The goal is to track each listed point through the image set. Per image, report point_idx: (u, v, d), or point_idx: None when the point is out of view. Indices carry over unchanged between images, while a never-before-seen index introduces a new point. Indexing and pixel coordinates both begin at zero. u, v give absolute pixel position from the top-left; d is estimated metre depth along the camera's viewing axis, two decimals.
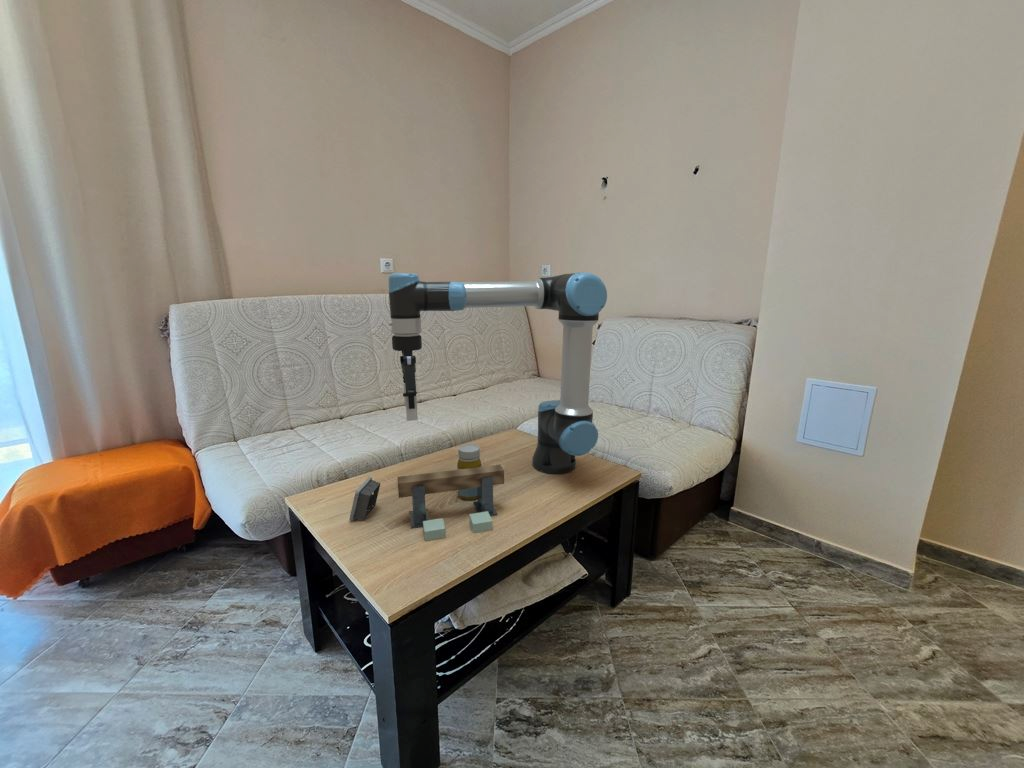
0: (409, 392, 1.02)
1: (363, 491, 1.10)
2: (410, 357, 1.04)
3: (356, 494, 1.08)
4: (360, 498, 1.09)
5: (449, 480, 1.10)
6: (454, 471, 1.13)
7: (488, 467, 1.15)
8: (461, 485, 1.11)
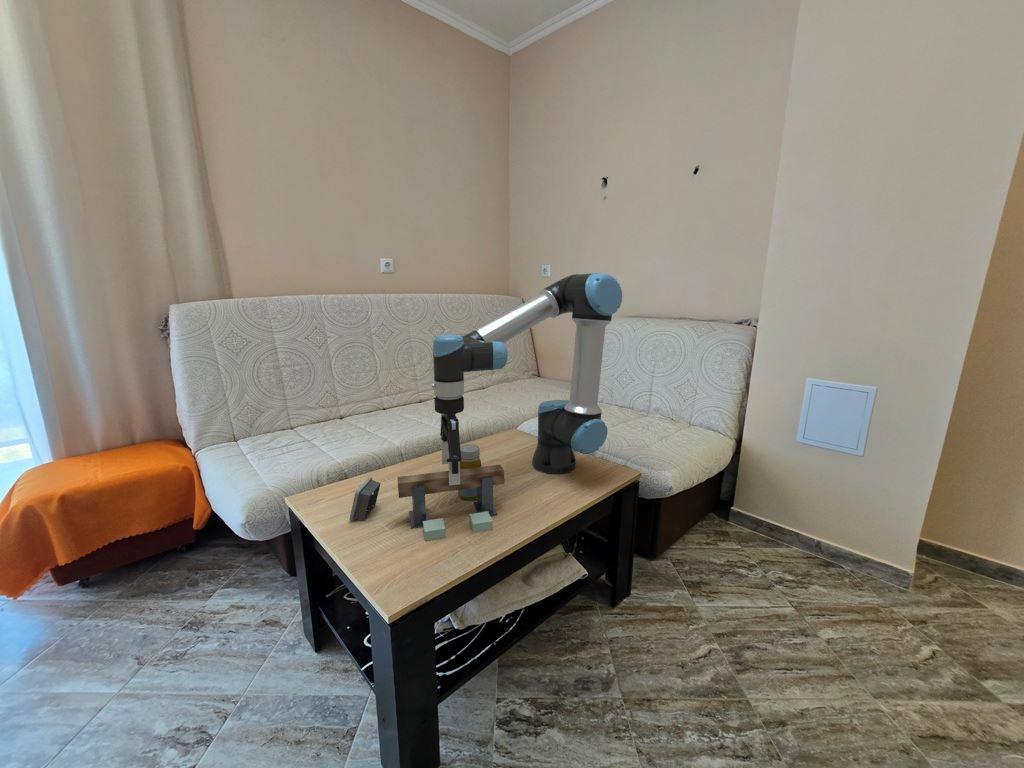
0: (454, 459, 1.00)
1: (363, 491, 1.10)
2: (455, 422, 1.02)
3: (356, 494, 1.08)
4: (360, 498, 1.09)
5: None
6: None
7: (488, 467, 1.15)
8: (461, 485, 1.11)
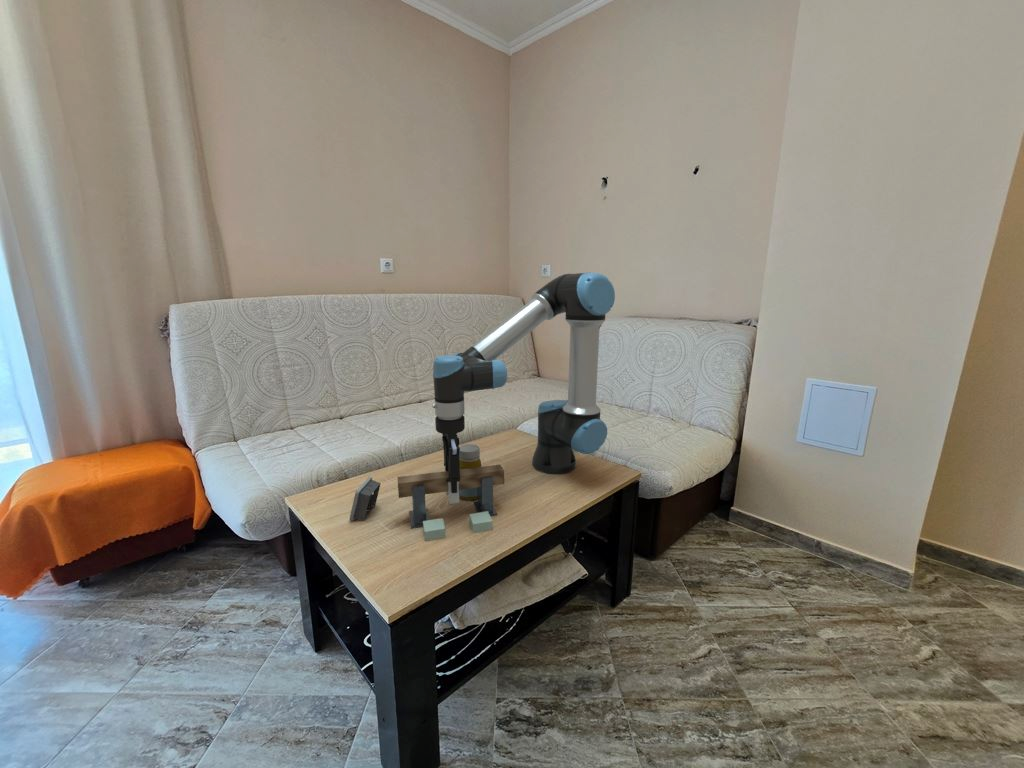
0: (453, 479, 1.06)
1: (363, 491, 1.10)
2: (456, 449, 1.03)
3: (356, 494, 1.08)
4: (360, 498, 1.09)
5: None
6: None
7: (488, 467, 1.15)
8: (461, 485, 1.11)
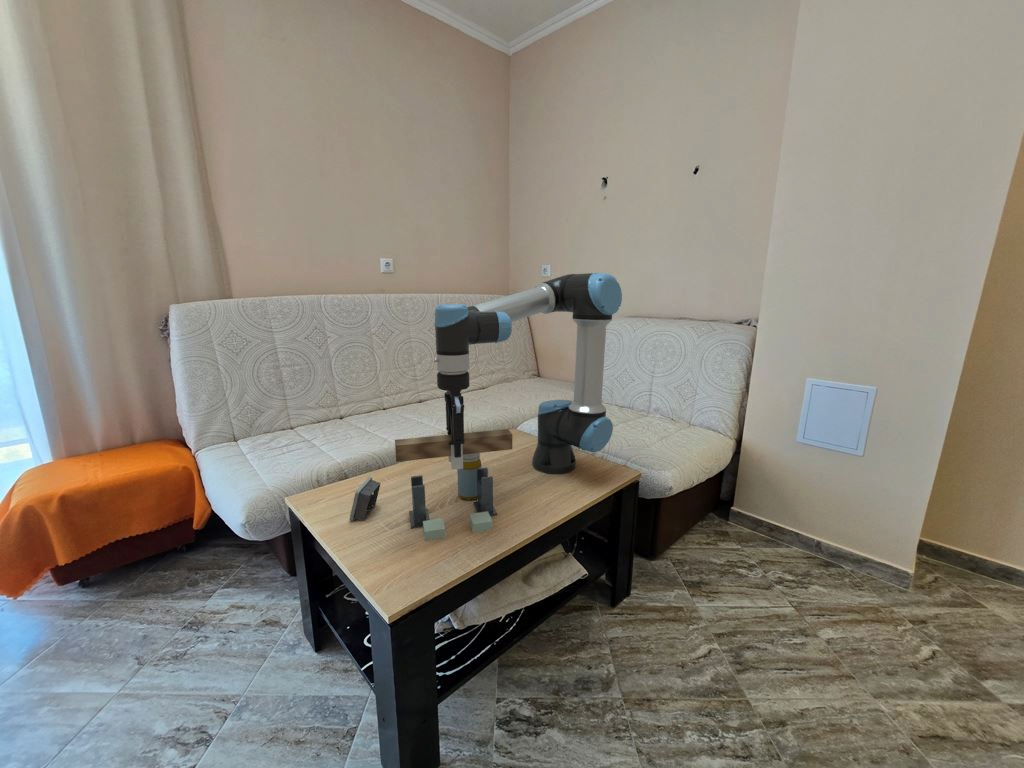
0: (456, 441, 0.96)
1: (363, 491, 1.10)
2: (460, 406, 0.93)
3: (356, 494, 1.08)
4: (360, 498, 1.09)
5: None
6: None
7: (495, 431, 1.05)
8: (465, 450, 1.00)
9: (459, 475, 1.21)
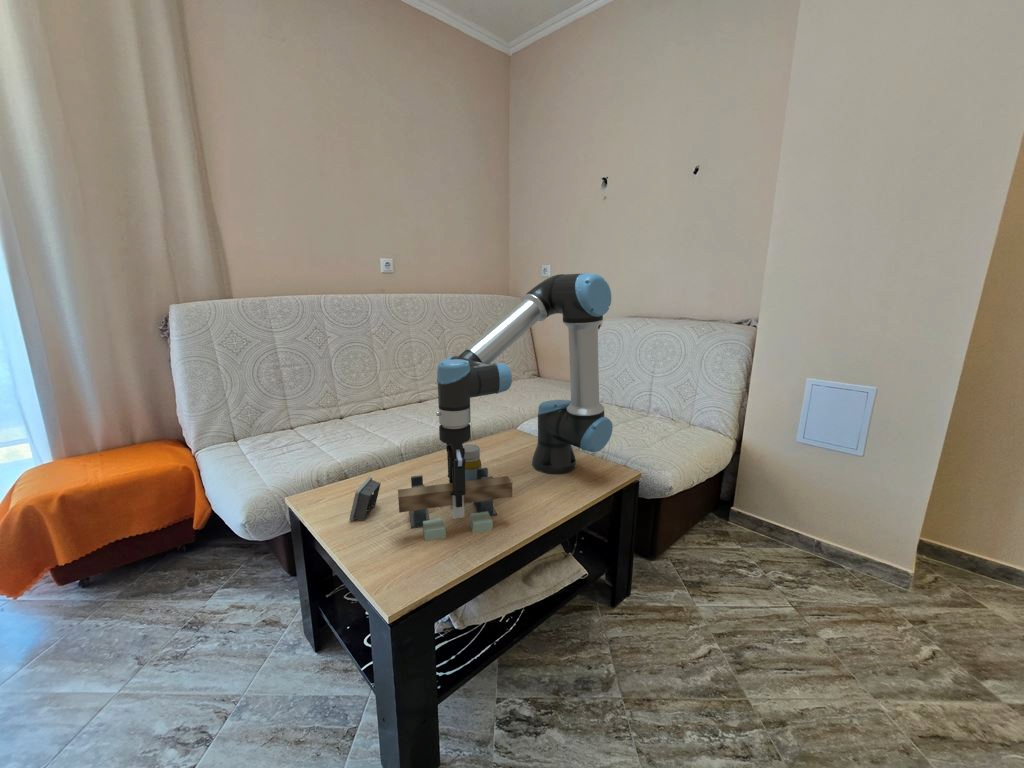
0: (458, 493, 0.98)
1: (363, 491, 1.10)
2: (461, 460, 0.96)
3: (356, 494, 1.08)
4: (360, 498, 1.09)
5: None
6: None
7: (495, 479, 1.08)
8: (466, 499, 1.03)
9: None
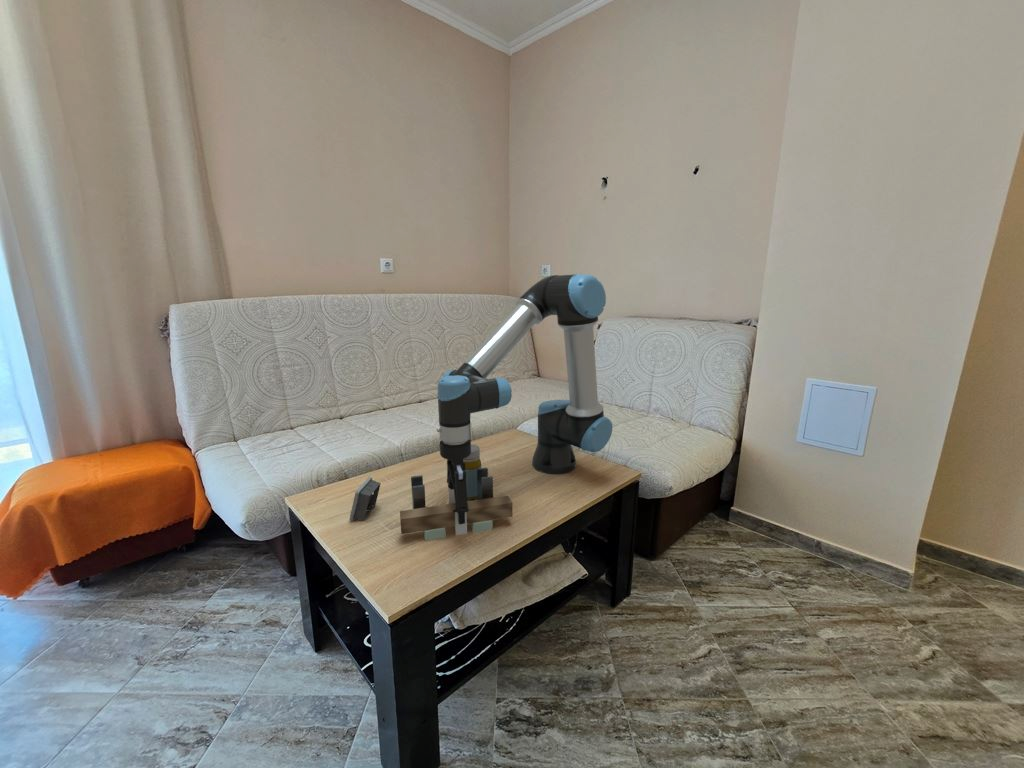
0: (461, 510, 0.96)
1: (363, 491, 1.10)
2: (462, 472, 0.96)
3: (356, 494, 1.08)
4: (360, 498, 1.09)
5: None
6: None
7: (495, 499, 1.09)
8: (467, 519, 1.05)
9: None
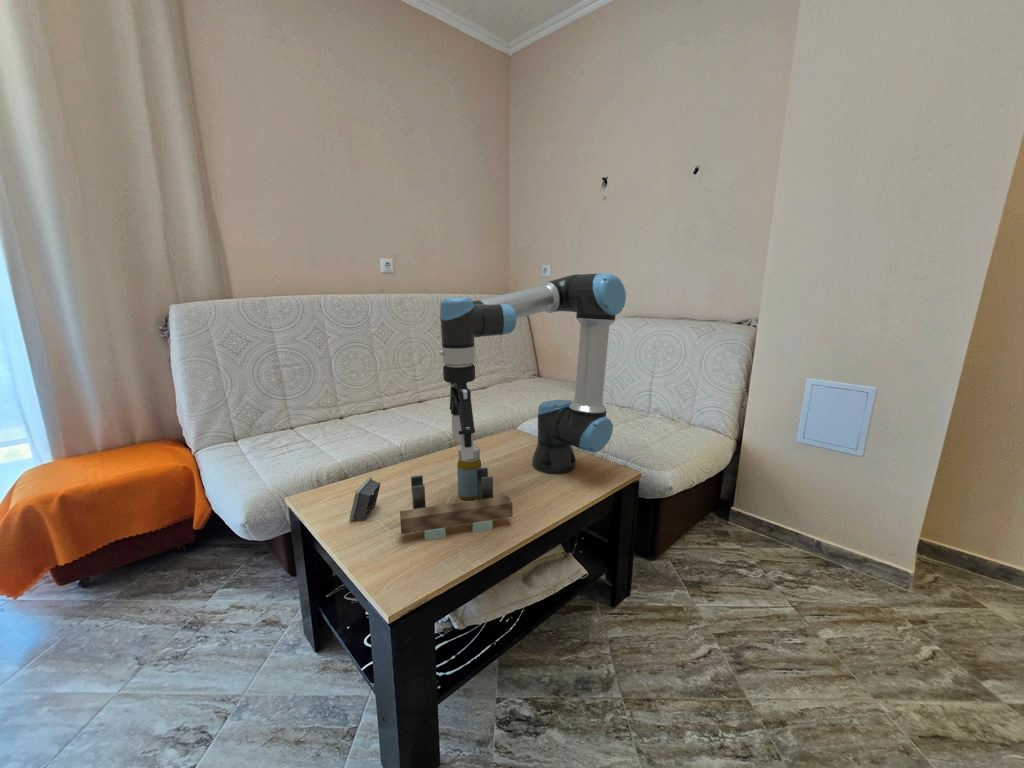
0: (467, 430, 0.92)
1: (363, 491, 1.10)
2: (466, 391, 0.94)
3: (356, 494, 1.08)
4: (360, 498, 1.09)
5: (455, 514, 1.03)
6: (460, 504, 1.07)
7: (495, 499, 1.09)
8: (467, 519, 1.05)
9: (459, 475, 1.21)
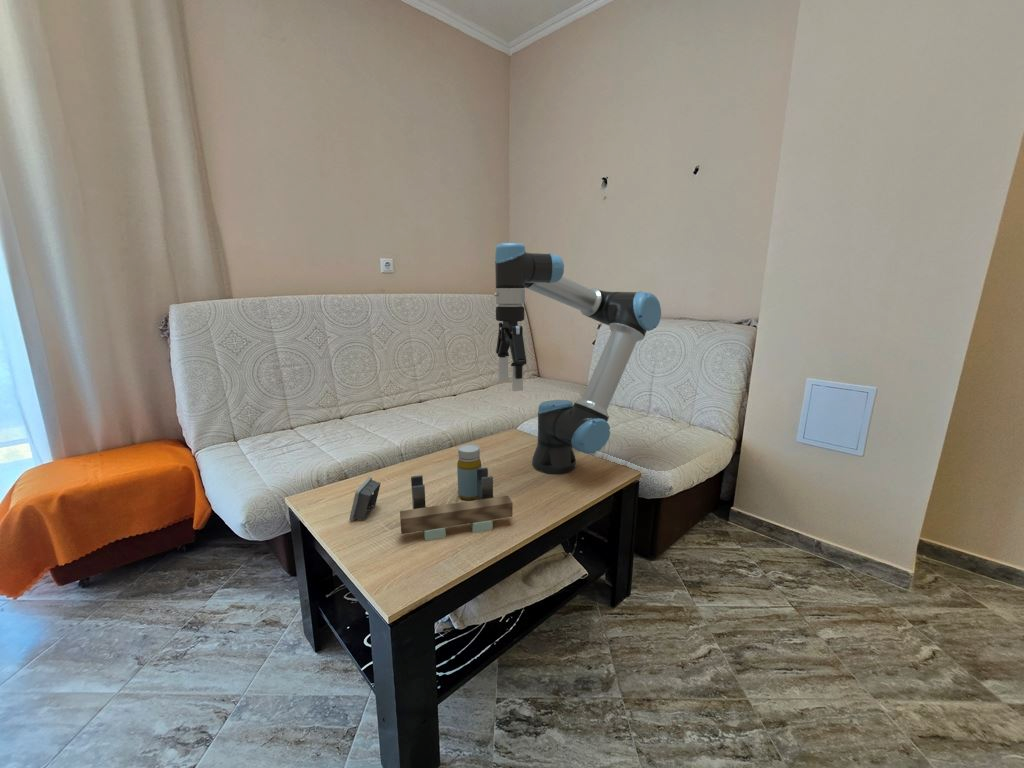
0: (519, 361, 1.02)
1: (363, 491, 1.10)
2: (519, 327, 1.04)
3: (356, 494, 1.08)
4: (360, 498, 1.09)
5: (455, 514, 1.03)
6: (460, 504, 1.07)
7: (495, 499, 1.09)
8: (467, 519, 1.05)
9: (459, 475, 1.21)
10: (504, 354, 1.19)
